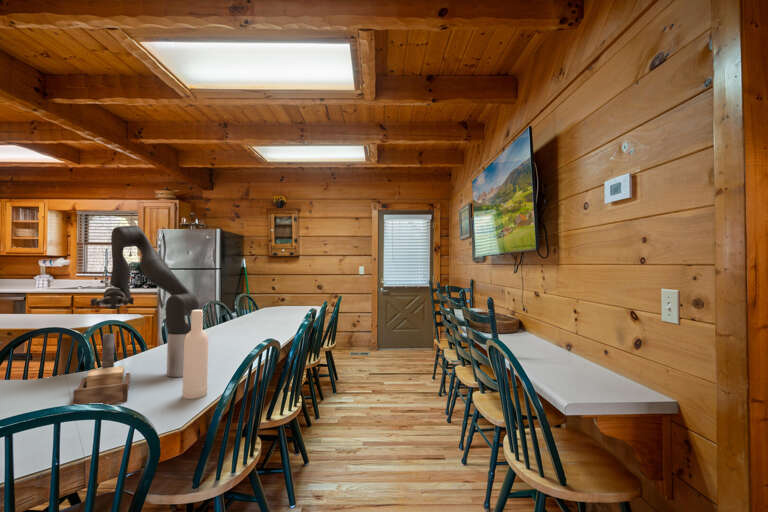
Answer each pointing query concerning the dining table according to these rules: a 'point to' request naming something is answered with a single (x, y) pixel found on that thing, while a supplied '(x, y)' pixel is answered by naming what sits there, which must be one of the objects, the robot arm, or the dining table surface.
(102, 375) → the wooden block with post
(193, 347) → the bottle
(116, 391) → the bay
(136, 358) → the dining table surface
